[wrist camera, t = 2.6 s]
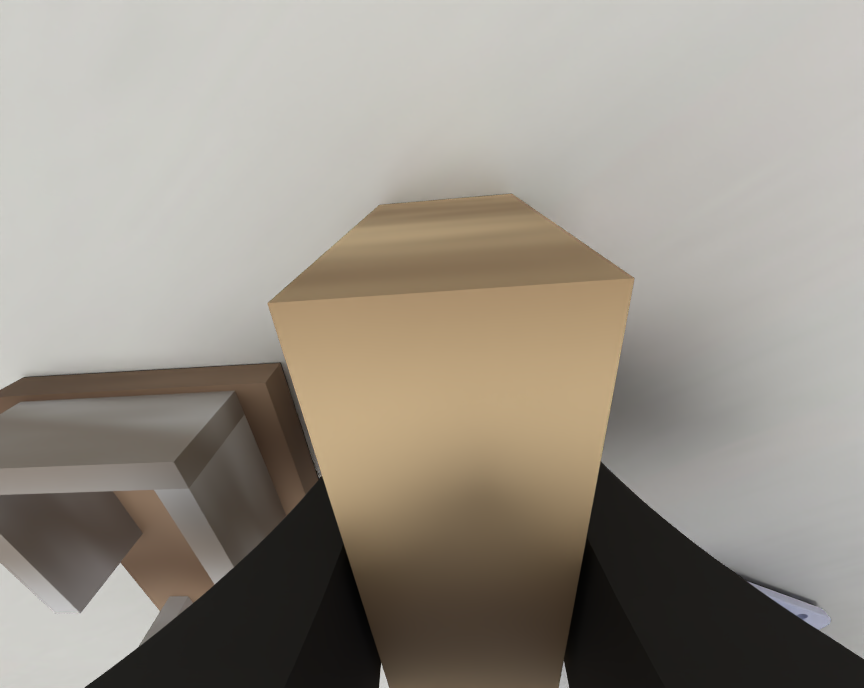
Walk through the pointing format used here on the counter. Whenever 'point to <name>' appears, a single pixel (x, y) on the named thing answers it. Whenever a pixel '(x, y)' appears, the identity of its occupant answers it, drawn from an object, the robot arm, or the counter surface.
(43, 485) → the board
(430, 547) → the oak slat
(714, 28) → the counter surface
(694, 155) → the counter surface
